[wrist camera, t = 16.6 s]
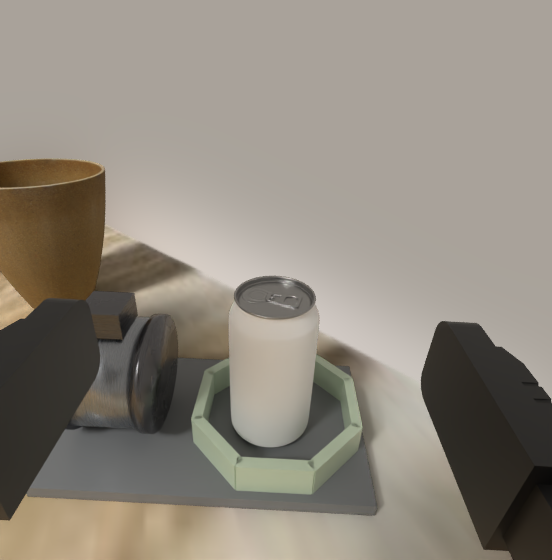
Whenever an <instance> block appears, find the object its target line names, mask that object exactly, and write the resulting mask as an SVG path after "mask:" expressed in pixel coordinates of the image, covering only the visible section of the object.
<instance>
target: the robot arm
mask: <svg viewBox="0 0 552 560" xmlns="http://www.w3.org/2000/svg"><path fill="white" fill-rule="evenodd" d="M99 366H100V351H99V346H98V342H97V337H96V333H95V329H94V324H93V320H92V315H91V311H90V307H89V305H88V303H87V302H86V301H85V300H78V299H60V298H47V299H45V300H44V301H43V302H42V303H41V304H40V305H39V306H38V307H37V308H36V309H35V310H34V311H33V312H31V313H30V314H29V315H28V316H27V317H26V318H25V319H20V320H18V321H16V322H14V323H12V324H11V325H9V326H7V327H5V328H4V329H2V330H0V520H10V519H11V518H12V516H13V514H14V513H15V511H16V509H17V508H18V506H19V504H20V503H21V501H22V499H23V498H24V496H25V494H26V493H27V491H28V490H29V488H30V486H31V485H32V483H33V481H34V480H35V478H36V476H37V475H38V473H39V471H40V470H41V468H42V466H43V465H44V463H45V461H46V460H47V458H48V457H49V455H50V453H51V452H52V450H53V448H54V447H55V445H56V443H57V442H58V440H59V438H60V437H61V435H62V433H63V432H64V430H65V428H66V427H67V425H68V423H69V422H70V420H71V419H72V417H73V415H74V414H75V412H76V410H77V409H78V407H79V405H80V404H81V402H82V400H83V399H84V397H85V395H86V394H87V392H88V390H89V389H90V387H91V386H92V384H93V382H94V381H95V379H96V377H97V374H98V371H99ZM421 390H422V396H423V399H424V402H425V404H426V407H427V409H428V412H429V414H430V417H431V419H432V422H433V424H434V427H435V429H436V432H437V434H438V437H439V439H440V442H441V444H442V447H443V449H444V452H445V454H446V457H447V459H448V462H449V464H450V467H451V469H452V472H453V474H454V477H455V479H456V482H457V484H458V487H459V489H460V492H461V494H462V497H463V499H464V502H465V504H466V507H467V509H468V512H469V514H470V517H471V519H472V522H473V524H474V527H475V529H476V532H477V534H478V537H479V539H480V542H481V544H482V547H483V549H485V550H502V551H509V552H510V554H511V556H512V559H513V560H552V403H551V398H550V397H549V396H548V395H547V393H546V392H545V391H544V389H543V388H542V387H539V386H538V382H537V380H536V379H535V378H534V377H533V375H532V374H531V373H530V371H529V370H528V369H527V368H526V366H525V365H524V364H523V363H522V362H521V361H519V360H518V359H516V358H515V357H514V356H513V355H511V354H510V353H509V352H507V351H506V350H505V349H503V348H502V347H496V346H495V345H494V344H493V342H492V341H491V340H490V338H489V337H488V335H487V334H486V333H485V331H484V330H483V328H482V327H481V326H480V325H479V324H477V323H465V322H447V321H442V322H440V323H439V324H438V325H437V327H436V330H435V333H434V336H433V340H432V343H431V346H430V349H429V352H428V355H427V358H426V361H425V364H424V368H423V371H422V376H421Z"/></svg>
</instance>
